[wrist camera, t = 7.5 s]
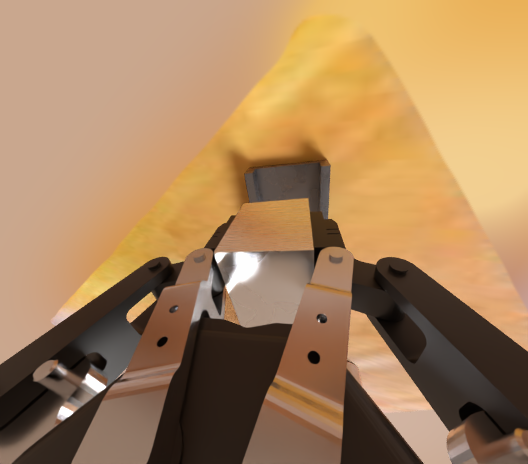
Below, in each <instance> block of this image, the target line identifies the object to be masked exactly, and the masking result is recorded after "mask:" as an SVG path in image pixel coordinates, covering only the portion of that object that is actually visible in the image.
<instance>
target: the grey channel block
mask: <svg viewBox="0 0 528 464" xmlns="http://www.w3.org/2000/svg"><path fill="white" fill-rule="evenodd" d="M330 166H331V165H330V164H329V162H328V160H320V161H311V162H301V163H291V164H282V165H272V166H262V167H253V168H249V169H248V170H247V171H246V173H245V174H244V175H245V180H246V186H247V191H248V196H249V202H250V203H256V202H267V201H279V200H291V199H302V198H308V201H309V210H310V212H317V211H322V214H323V218H324V219H328V206H329V186H330Z"/></svg>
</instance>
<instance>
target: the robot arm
mask: <svg viewBox="0 0 528 464" xmlns="http://www.w3.org/2000/svg"><path fill="white" fill-rule="evenodd" d="M235 217H236V215H233V216H231V217H230V218H229V220H228V221H227V223H224V224H222V225H221V226H220V227H218V229H217V230H216V231H215V233H214V234H213V236H212V237H211V239H210V240H209V241H208V243H207V244H206V246H205V247H204V248H202V249H198V250H195V251H193V252H192V253H190V254H189V255H188V256H187V257H186V259H185V261H184V262H180V263H176V264H171V262H170V260H169V259H168V258H167V257H159V258H155V259H153V260H151V261H149V262H147V263H146V264H144V265H143V266H141V267H140V268H138V269H137V270H136V271H134V272H133V273H131V274H130V275H128V276H127V277H126V278H124V279H123V280H121V281H120V282H118V283H117V284H115V285H114V286H113V287H111V288H110V289H108V290H107V291H105V292H104V293H103V294H101V295H100V296H98V297H97V298H95V299H94V300H92V301H91V302H90V303H88V304H87V305H85V306H84V307H82V308H81V309H80V310H78V311H77V312H75V313H74V314H72V315H71V316H70V317H68V318H67V319H65V320H64V321H62V322H61V323H59V324H58V325H57V326H55V327H54V328H52V329H51V330H49V331H48V332H47V333H45V334H44V335H42V336H41V337H39V338H38V339H37V340H35V341H34V342H32V343H31V344H29V345H28V346H26V347H25V348H24V349H22V350H21V351H19V352H18V353H16V354H15V355H14V356H12V357H11V358H9V359H8V360H6V361H5V362H4V363H2V364H1V365H0V464H423V462H422V461H421V460H420V458H419V457H418V456H417V455H416V453H415V452H414V451H413V450H412V448H411V447H410V446H409V445H408V444H407V442H406V441H405V440H404V438H403V437H402V436H401V435H400V433H399V432H398V431H397V430H396V428H395V427H394V426H393V425H392V424H391V422H390V421H389V420H388V419H387V417H386V416H385V415H384V414H383V412H382V411H381V410H380V409H379V407H378V406H377V405H376V404H375V402H374V401H373V400H372V399H371V397H370V396H369V395H368V394H367V392H366V391H365V390H364V389H363V386H362V382H361V378H360V374H359V369H358V367H357V366H356V365H354V364H352V363H350V362H347V354H348V341H349V327H350V314H351V309H352V310H355V311H358V312H361V313H364V314H366V315H367V317H368V318H369V320H370V321H371V323H372V324H373V325H374V327H375V328H376V330H377V331H378V332H379V334H380V335H381V337H382V338H383V339H384V341H385V342H386V344H387V345H388V346H389V348H390V349H391V351H392V352H393V353H394V355H395V356H396V358H397V359H398V360H399V362H400V363H401V365H402V366H403V367H404V369H405V370H406V372H407V373H408V374H409V376H410V377H411V379H412V380H413V381H414V383H415V384H416V386H417V387H418V388H419V390H420V391H421V393H422V394H423V395H424V397H425V398H426V400H427V401H428V402H429V404H430V405H431V407H432V408H433V409H434V411H435V412H436V414H437V415H438V416H439V417H440V419H441V421H442V422H443V423H444V425H445V426H446V428H447V429H448V430H449V434H448V436H447V450H448V454H449V457H450V460H451V462H452V464H528V351H526V350H525V349H524V348H522V347H521V346H520V345H518V344H517V343H516V342H514V341H513V340H512V339H511V338H509V337H508V336H507V335H505V334H504V333H503V332H501V331H500V330H499V329H497V328H496V327H495V326H494V325H492V324H491V323H490V322H488V321H487V320H486V319H484V318H483V317H482V316H480V315H479V314H478V313H477V312H475V311H474V310H473V309H471V308H470V307H469V306H467V305H466V304H465V303H463V302H462V301H461V300H460V299H458V298H457V297H456V296H454V295H453V294H452V293H450V292H449V291H448V290H446V289H445V288H444V287H443V286H441V285H440V284H439V283H437V282H436V281H435V280H433V279H432V278H431V277H429V276H428V275H427V274H426V273H424V272H423V271H422V270H420V269H419V268H418V267H416V266H415V265H414V264H412V263H410V262H408V261H406V260H403V259H400V258H395V257H386V258H382V259H380V260H379V261H378V262H377V264H376V265H374V264H369V263H365V262H361V261H358V260H356V259H354V257H353V255H352V253H351V252H349V251H348V250H346V248H345V245H344V242H343V240H342V237H341V234H340V231H339V228H338V225H337V223H336V222H335V221H333V220H332V219H324V218H323V214H322V211H317V212H310V219H311V228H312V238H313V247H314V273H313V276H312V279H311V282H310V283H307V284H306V286H305V289H304V292H303V295H302V298H301V301H300V304H299V307H298V310H297V313H296V316H295V319H294V322H293V324H285V323H272V324H266V325H261V326H255V327H249V328H247V327H243V326H240V325H237V324H235V323H232V322H229V321H227V320H224V313H225V301H226V288H225V282H224V280H223V277H222V274H221V272H220V269H219V266H218V264H217V261H216V258H215V256H214V251H215V249H216V248H217V246H218V245H219V243H220V241H221V240H222V238H223V236H224V235H225V233H226V231H227V230H228V228H229V227H230V225H231V223H232V222H233V220H234V218H235ZM150 292H152V293H153V295H154V296H155V298H156V299H157V300H156V301H155V302H154V303H153V304H152V305H151V306H149V307H148V308H147V309H146V310H145V311H144V312H143V313H142V314H140V315H139V316H138V317H137V318H136V319H135V320H134V321H133V322H131V323H129V322H128V321H127V319H126V315H127V313H128V311H129V310H130V309H131V308H132V307H133V306H134V305H135V304H137V303H138V302H139V301H140V300H141V299H143V298H144V297H145V296H146V295H147V294H149V293H150ZM126 368H127V369H126ZM125 369H126V372H125V373H124V374H122V375H121V376H120V377H119V378H117V377H118V376H119V375H120V374H121V373H122V372H123V371H124V370H125ZM116 378H117V379H116ZM115 379H116V380H115ZM114 380H115V381H114Z"/></svg>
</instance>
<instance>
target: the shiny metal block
mask: <svg viewBox="0 0 528 464" xmlns="http://www.w3.org/2000/svg"><path fill="white" fill-rule="evenodd" d="M214 256H215V258H216V261H217V264H218V266H219V269H220V272H221V274H222V277H223V280H224V282H225V285H226V288H227V290H228V293H229V296H230V298H231V301H232V304H233V306H234V309H235V312H236V315H237V317H238V320H239V323H240V325H241V326H243V327H247V328H249V327H255V326H261V325H266V324H272V323H285V324H293V322H294V319H295V316H296V313H297V310H298V307H299V304H300V301H301V298H302V295H303V292H304V289H305V286H306V284H307V283H310V282H311V279H312V276H313V273H314V247H313V238H312V228H311V219H310V210H309V201H308V198H302V199H291V200H279V201H267V202H256V203H244V204H243V205H242V207H241V209H240V210H239V212H238V213H237V215H236V217H235V218H234V220H233V222H232V223H231V225H230V227H229V228H228V230H227V231H226V233H225V235H224V236H223V238H222V240H221V241H220V243H219V245H218V246H217V248H216V249H215V251H214Z"/></svg>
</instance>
